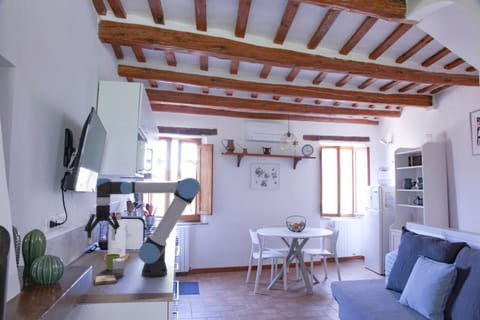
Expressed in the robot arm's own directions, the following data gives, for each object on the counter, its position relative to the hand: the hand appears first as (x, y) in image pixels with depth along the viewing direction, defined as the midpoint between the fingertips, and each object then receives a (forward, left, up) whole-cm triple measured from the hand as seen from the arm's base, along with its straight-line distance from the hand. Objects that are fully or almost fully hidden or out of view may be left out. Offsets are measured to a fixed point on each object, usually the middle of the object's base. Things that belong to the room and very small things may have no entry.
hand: (102, 242), depth 184 cm
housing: (-10, -7, -21) cm, 24 cm away
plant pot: (-7, -21, -21) cm, 31 cm away
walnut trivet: (-3, +3, -21) cm, 22 cm away
